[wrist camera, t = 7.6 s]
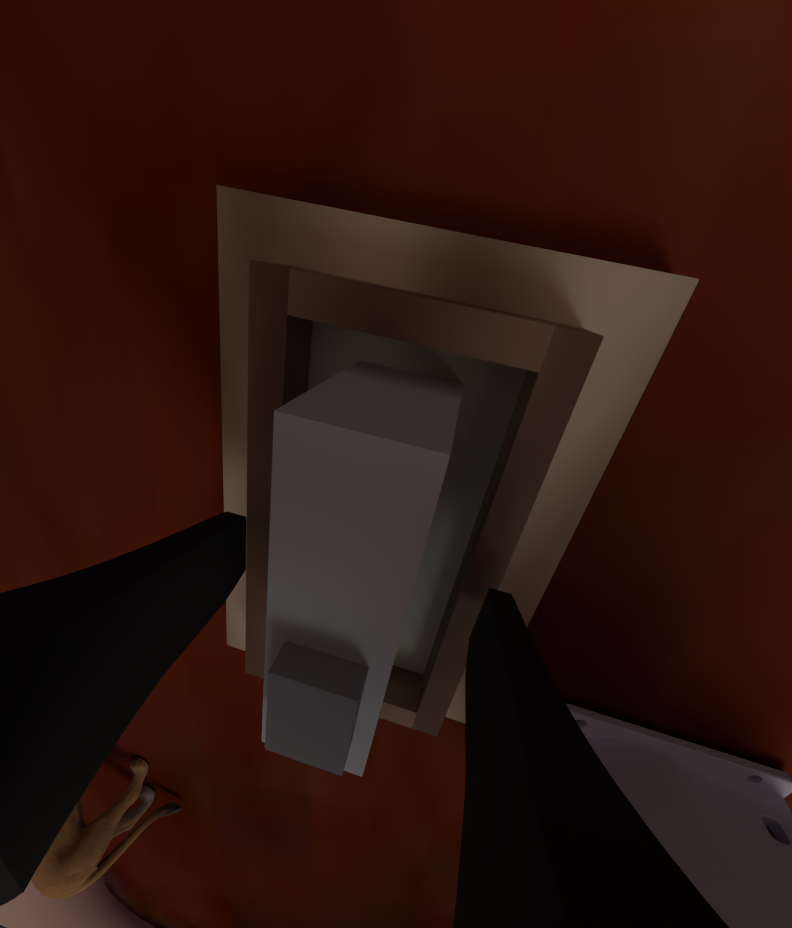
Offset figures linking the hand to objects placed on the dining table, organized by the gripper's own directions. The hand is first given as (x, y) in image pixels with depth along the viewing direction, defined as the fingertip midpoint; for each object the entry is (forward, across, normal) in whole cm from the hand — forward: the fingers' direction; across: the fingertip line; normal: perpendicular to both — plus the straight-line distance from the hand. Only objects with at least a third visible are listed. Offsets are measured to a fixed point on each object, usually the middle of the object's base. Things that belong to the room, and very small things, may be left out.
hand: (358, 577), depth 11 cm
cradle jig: (+4, 0, 0) cm, 4 cm away
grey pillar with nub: (+2, 0, 0) cm, 2 cm away
